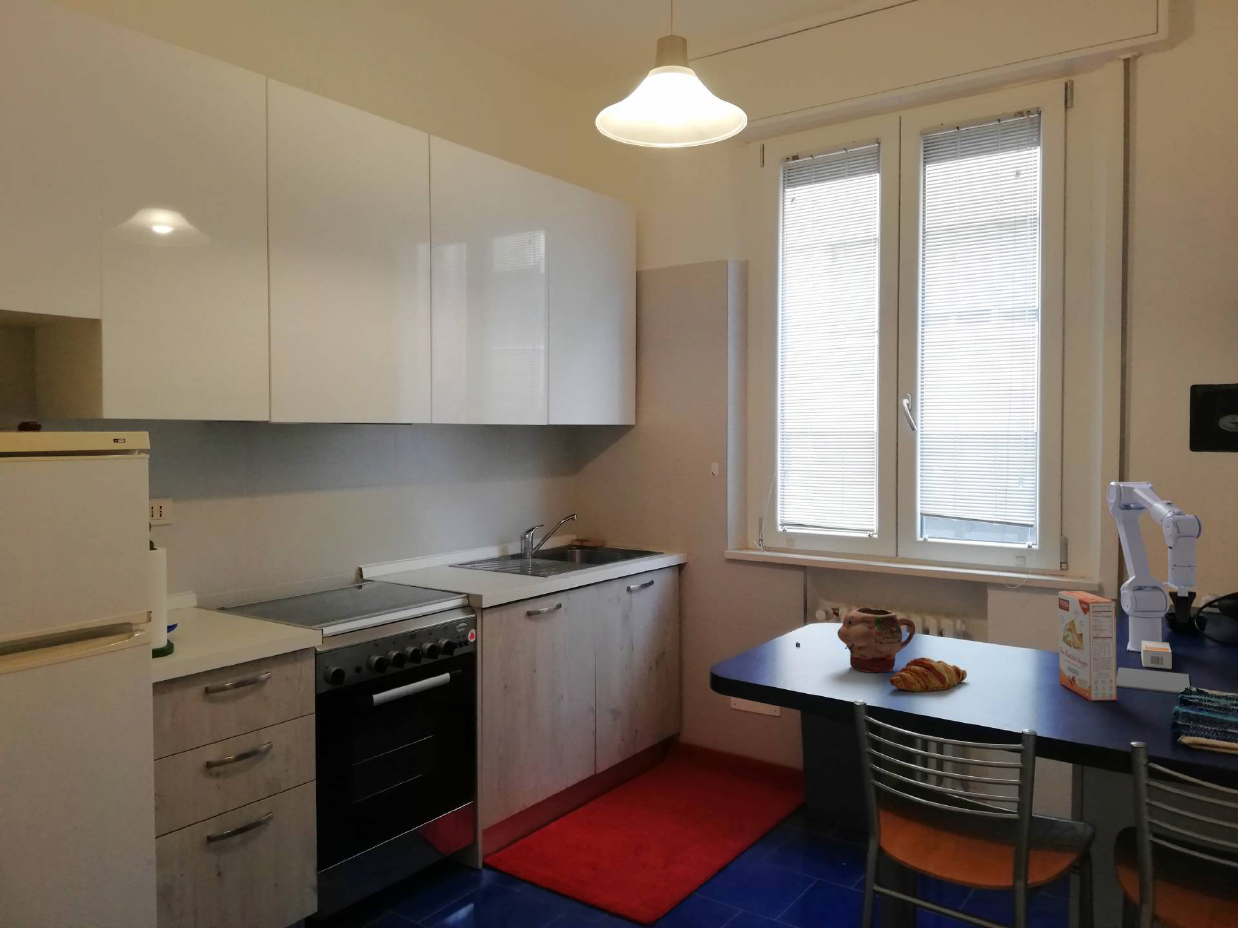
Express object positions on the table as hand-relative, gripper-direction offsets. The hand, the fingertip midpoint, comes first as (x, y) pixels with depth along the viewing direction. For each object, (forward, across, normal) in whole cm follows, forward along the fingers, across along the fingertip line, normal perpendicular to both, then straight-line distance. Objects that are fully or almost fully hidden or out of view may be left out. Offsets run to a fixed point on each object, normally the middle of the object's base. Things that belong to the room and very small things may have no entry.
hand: (1182, 622), depth 217 cm
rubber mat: (+10, +20, -6) cm, 23 cm away
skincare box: (+8, +6, -5) cm, 11 cm away
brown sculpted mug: (+11, +36, -63) cm, 73 cm away
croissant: (+11, +48, -48) cm, 69 cm away
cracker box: (+11, +37, -18) cm, 42 cm away
